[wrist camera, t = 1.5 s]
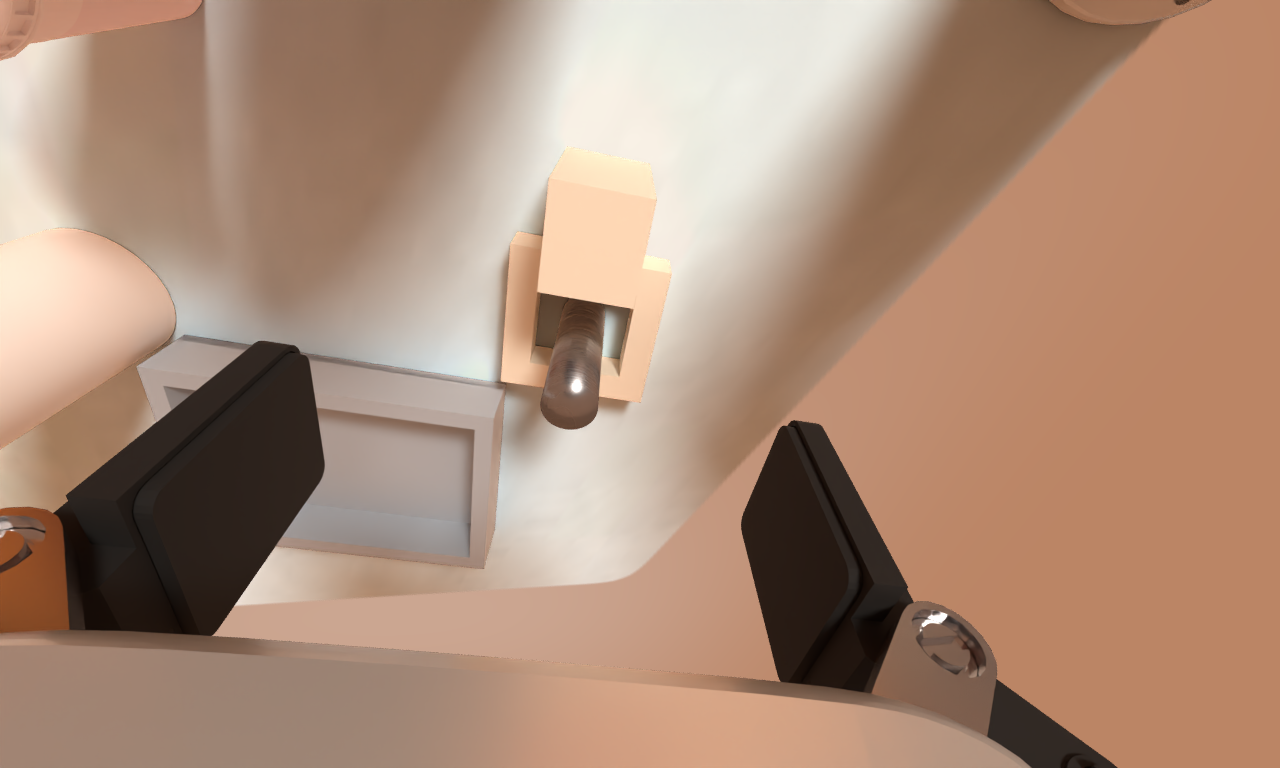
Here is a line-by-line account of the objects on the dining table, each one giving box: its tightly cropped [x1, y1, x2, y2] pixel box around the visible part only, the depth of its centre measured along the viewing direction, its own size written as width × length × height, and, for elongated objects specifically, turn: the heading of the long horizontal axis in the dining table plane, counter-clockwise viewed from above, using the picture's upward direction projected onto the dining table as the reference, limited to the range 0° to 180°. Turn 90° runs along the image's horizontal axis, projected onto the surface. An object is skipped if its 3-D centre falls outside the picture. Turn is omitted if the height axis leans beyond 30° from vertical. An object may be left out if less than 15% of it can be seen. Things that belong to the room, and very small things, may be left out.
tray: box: [136, 335, 506, 569], centre depth 33 cm, size 18×13×4 cm
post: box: [540, 298, 605, 429], centre depth 26 cm, size 2×2×9 cm
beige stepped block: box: [501, 146, 672, 403], centre depth 26 cm, size 8×12×7 cm, turn 169°
